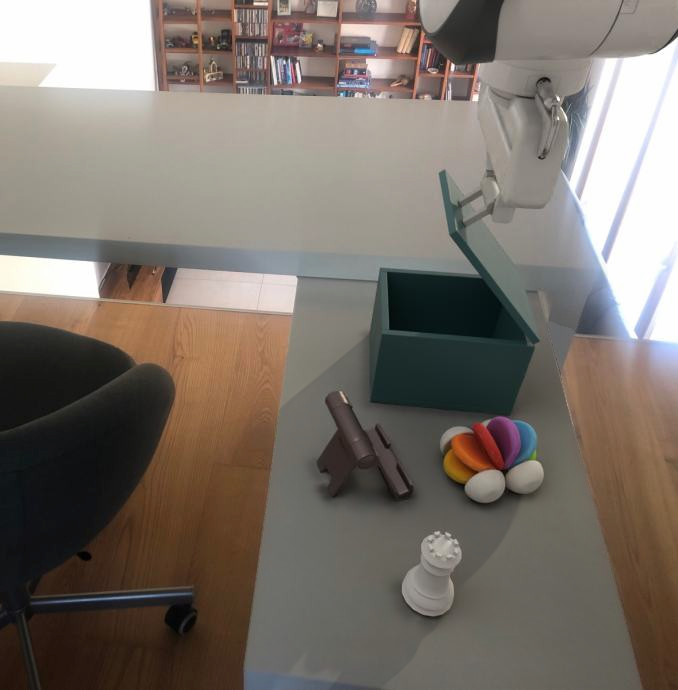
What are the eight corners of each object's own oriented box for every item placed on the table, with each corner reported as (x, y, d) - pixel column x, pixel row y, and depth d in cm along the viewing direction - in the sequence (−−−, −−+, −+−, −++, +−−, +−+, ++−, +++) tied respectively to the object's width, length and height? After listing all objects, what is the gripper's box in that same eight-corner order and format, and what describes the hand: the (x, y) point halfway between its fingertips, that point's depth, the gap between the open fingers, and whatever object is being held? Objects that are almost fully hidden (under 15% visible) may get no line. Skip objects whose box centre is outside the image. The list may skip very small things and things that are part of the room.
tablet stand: (412, 499, 70) (427, 444, 64) (338, 515, 68) (347, 460, 63) (377, 436, 76) (388, 381, 71) (309, 449, 75) (315, 394, 70)
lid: (448, 234, 65) (497, 207, 62) (438, 172, 74) (480, 146, 72) (533, 345, 71) (580, 324, 69) (513, 275, 81) (554, 254, 78)
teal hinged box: (370, 402, 80) (381, 333, 73) (369, 333, 90) (379, 267, 83) (510, 415, 78) (535, 346, 71) (494, 343, 88) (515, 276, 81)
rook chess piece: (396, 573, 64) (410, 521, 58) (444, 572, 64) (463, 520, 58) (406, 619, 60) (422, 569, 55) (458, 618, 60) (478, 568, 55)
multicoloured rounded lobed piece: (423, 450, 74) (436, 403, 70) (505, 433, 76) (522, 386, 71) (463, 514, 68) (479, 467, 63) (550, 494, 70) (573, 446, 65)
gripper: (605, 109, 51) (549, 264, 60) (550, 25, 67) (512, 159, 76) (516, 105, 52) (474, 258, 61) (482, 23, 67) (452, 155, 77)
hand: (495, 202), depth 69 cm, fingers closed on lid, 5 cm apart
